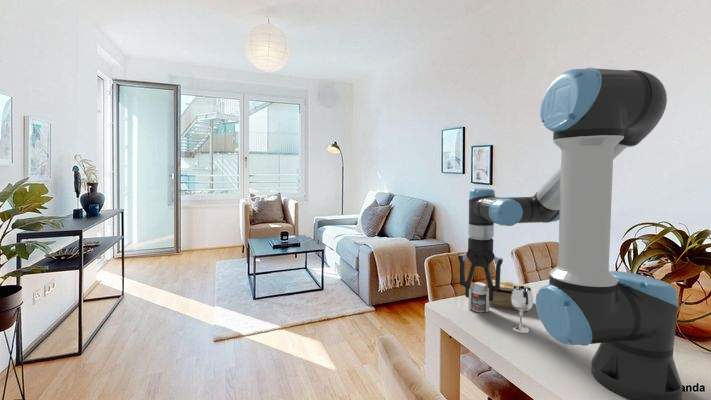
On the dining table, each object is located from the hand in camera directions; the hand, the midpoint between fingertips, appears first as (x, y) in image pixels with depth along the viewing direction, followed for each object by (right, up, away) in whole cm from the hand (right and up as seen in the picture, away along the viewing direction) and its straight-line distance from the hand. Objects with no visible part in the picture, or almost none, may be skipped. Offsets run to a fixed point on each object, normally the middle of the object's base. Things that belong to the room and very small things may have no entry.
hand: (478, 308), depth 113 cm
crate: (+12, 0, +5) cm, 13 cm away
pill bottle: (0, -1, 0) cm, 1 cm away
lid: (+12, +6, +5) cm, 14 cm away
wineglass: (+7, -2, -13) cm, 15 cm away
